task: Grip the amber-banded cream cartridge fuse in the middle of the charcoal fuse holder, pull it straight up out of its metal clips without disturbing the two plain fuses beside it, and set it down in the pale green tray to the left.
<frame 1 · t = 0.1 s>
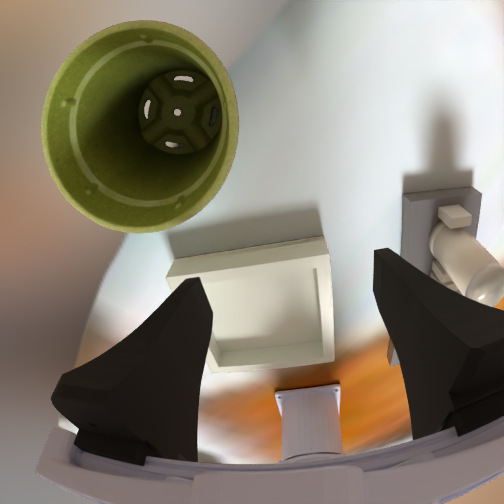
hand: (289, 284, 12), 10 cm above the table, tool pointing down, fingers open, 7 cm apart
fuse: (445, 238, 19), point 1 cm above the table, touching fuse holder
plant pot: (182, 111, 18), on the table
fuse holder: (429, 285, 24), on the table
tray: (260, 306, 26), on the table
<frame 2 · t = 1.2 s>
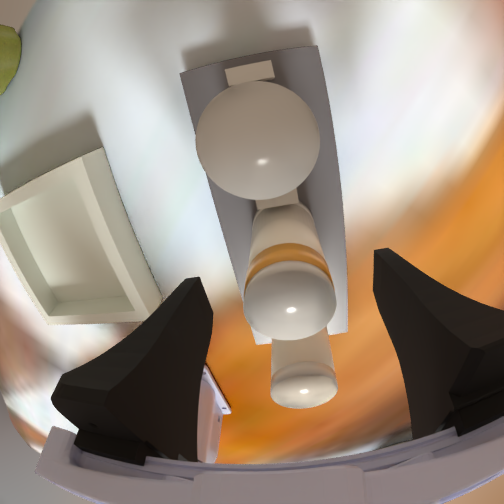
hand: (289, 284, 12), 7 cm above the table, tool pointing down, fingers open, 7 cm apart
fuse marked: (283, 225, 17), point 1 cm above the table, touching fuse holder
plant pot: (1, 61, 12), on the table
grey block: (385, 453, 41), on the table
fuse holder: (282, 214, 18), on the table
tray: (72, 243, 20), on the table
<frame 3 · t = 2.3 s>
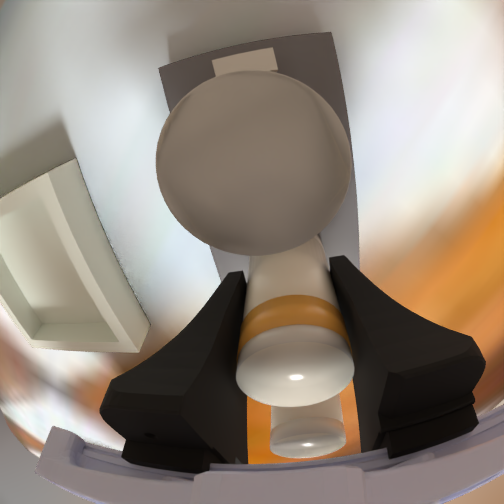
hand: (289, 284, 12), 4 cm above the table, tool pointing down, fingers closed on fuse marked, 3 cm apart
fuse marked: (286, 253, 14), point 1 cm above the table, touching fuse holder, gripper
fuse holder: (285, 238, 15), on the table
tray: (51, 264, 17), on the table
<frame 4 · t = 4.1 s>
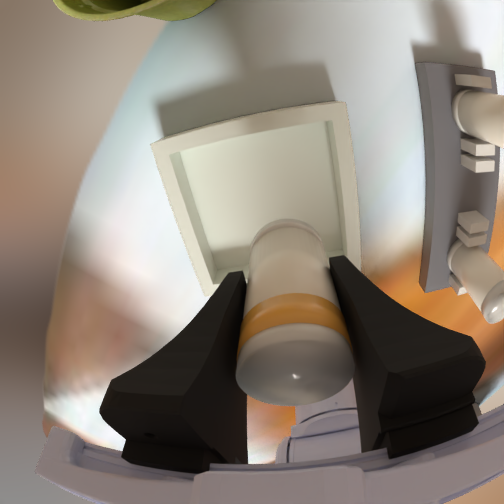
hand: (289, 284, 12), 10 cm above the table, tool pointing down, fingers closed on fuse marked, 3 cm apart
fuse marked: (287, 252, 14), point 8 cm above the table, touching gripper
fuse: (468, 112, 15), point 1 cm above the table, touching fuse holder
fuse holder: (459, 181, 19), on the table
tray: (266, 196, 21), on the table
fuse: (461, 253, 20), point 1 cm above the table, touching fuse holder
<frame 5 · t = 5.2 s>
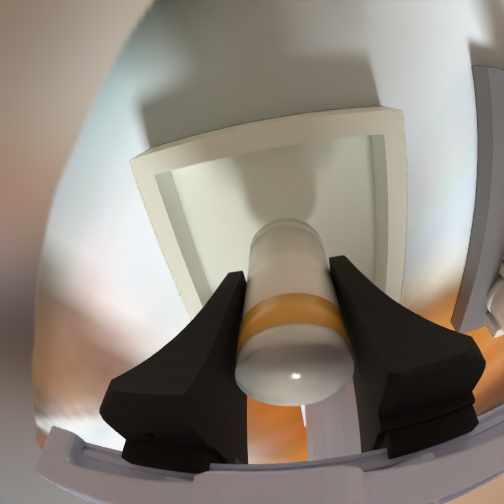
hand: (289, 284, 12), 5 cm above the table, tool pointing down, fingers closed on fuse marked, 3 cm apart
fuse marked: (286, 251, 14), point 3 cm above the table, touching gripper
tray: (284, 229, 16), on the table
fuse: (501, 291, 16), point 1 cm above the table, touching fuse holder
when the fingers open (4 cm above the table, at t = 5.9 s): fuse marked stays where it is, resting on tray.
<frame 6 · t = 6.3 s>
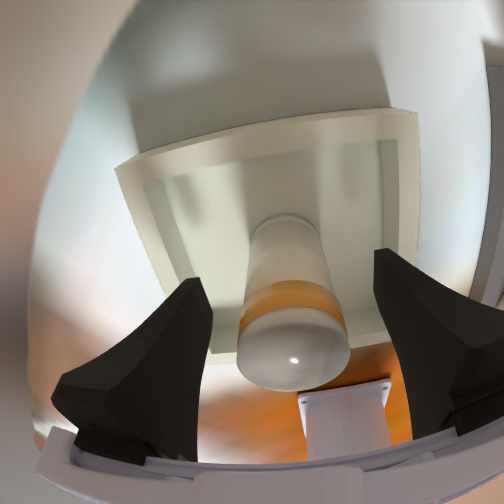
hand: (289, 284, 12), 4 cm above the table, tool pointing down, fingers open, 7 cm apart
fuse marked: (285, 245, 14), point 1 cm above the table, touching tray
tray: (285, 240, 15), on the table
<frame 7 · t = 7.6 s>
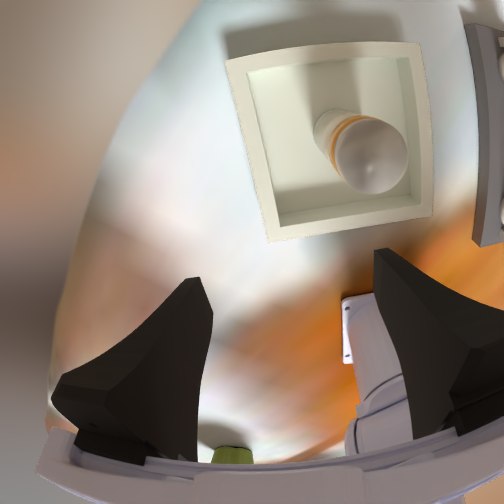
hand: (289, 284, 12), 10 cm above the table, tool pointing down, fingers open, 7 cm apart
plant pot 2: (234, 450, 47), on the table
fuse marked: (338, 133, 18), point 1 cm above the table, touching tray
tray: (337, 133, 18), on the table
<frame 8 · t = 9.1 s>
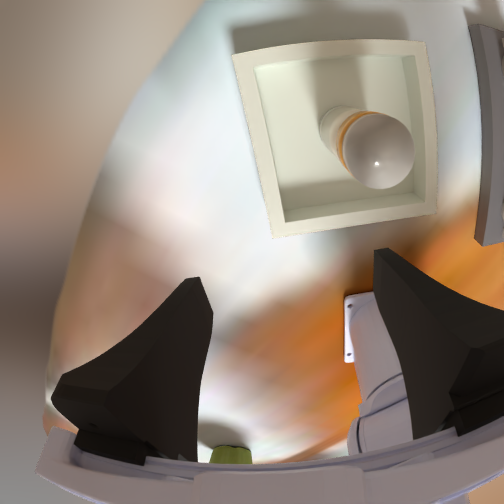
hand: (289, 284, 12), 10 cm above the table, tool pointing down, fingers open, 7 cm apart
plant pot 2: (232, 450, 47), on the table
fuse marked: (344, 130, 17), point 1 cm above the table, touching tray
tray: (342, 130, 18), on the table
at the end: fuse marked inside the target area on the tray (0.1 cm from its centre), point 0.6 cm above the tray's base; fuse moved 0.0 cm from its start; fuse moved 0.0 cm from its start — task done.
